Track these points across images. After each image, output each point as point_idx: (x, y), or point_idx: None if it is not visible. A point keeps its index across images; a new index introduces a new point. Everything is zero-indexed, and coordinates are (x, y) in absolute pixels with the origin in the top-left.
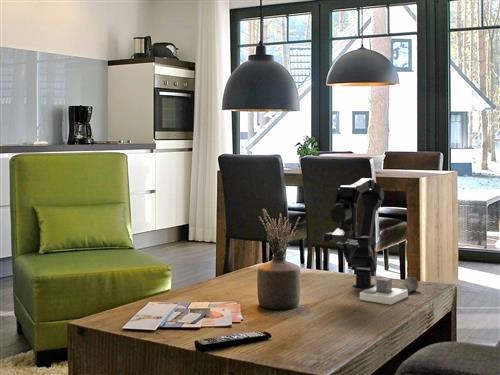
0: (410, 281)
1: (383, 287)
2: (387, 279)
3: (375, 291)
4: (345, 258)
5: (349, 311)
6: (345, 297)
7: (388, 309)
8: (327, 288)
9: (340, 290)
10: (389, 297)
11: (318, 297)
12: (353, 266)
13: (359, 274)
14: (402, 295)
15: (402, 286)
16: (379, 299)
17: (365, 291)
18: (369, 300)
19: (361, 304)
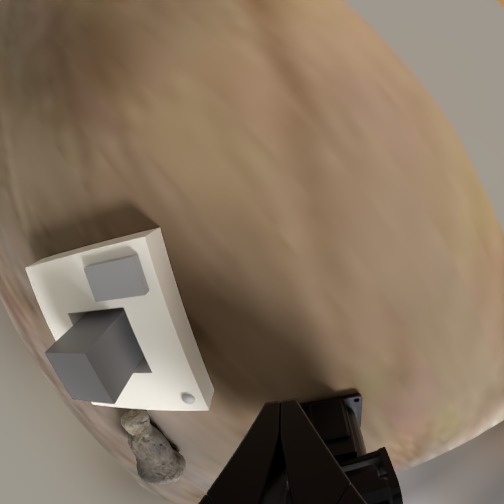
0: (139, 462)
1: (75, 332)
2: (66, 379)
3: (93, 292)
4: (309, 429)
5: (71, 45)
6: (242, 205)
7: (12, 194)
8: (430, 290)
9: (364, 308)
10: (28, 266)
11: (347, 94)
12: (381, 466)
13: (334, 443)
14: None
15: (129, 428)
16: (67, 253)
17: (120, 258)
18: (112, 239)
19: (95, 160)
